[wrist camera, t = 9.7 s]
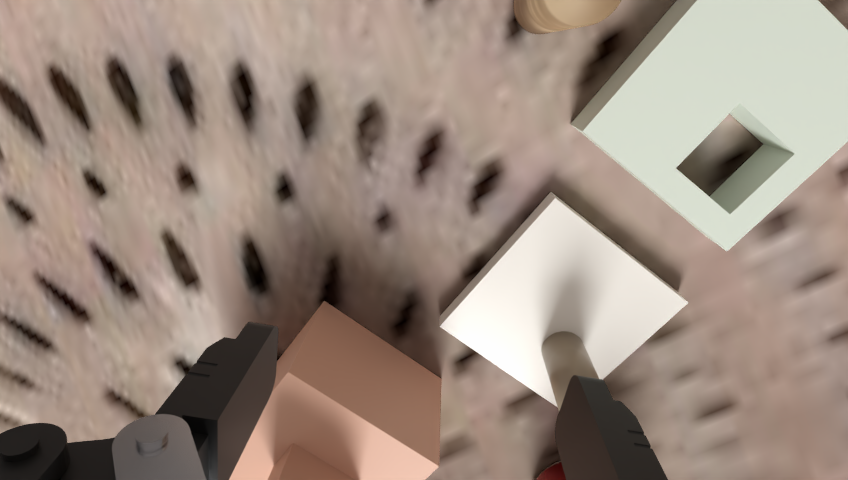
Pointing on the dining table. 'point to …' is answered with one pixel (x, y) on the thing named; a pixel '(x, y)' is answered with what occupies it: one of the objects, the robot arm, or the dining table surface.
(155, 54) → the dining table surface
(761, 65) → the peg board
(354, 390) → the peach stamp with handle
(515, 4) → the peg
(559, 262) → the board
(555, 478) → the soda can
